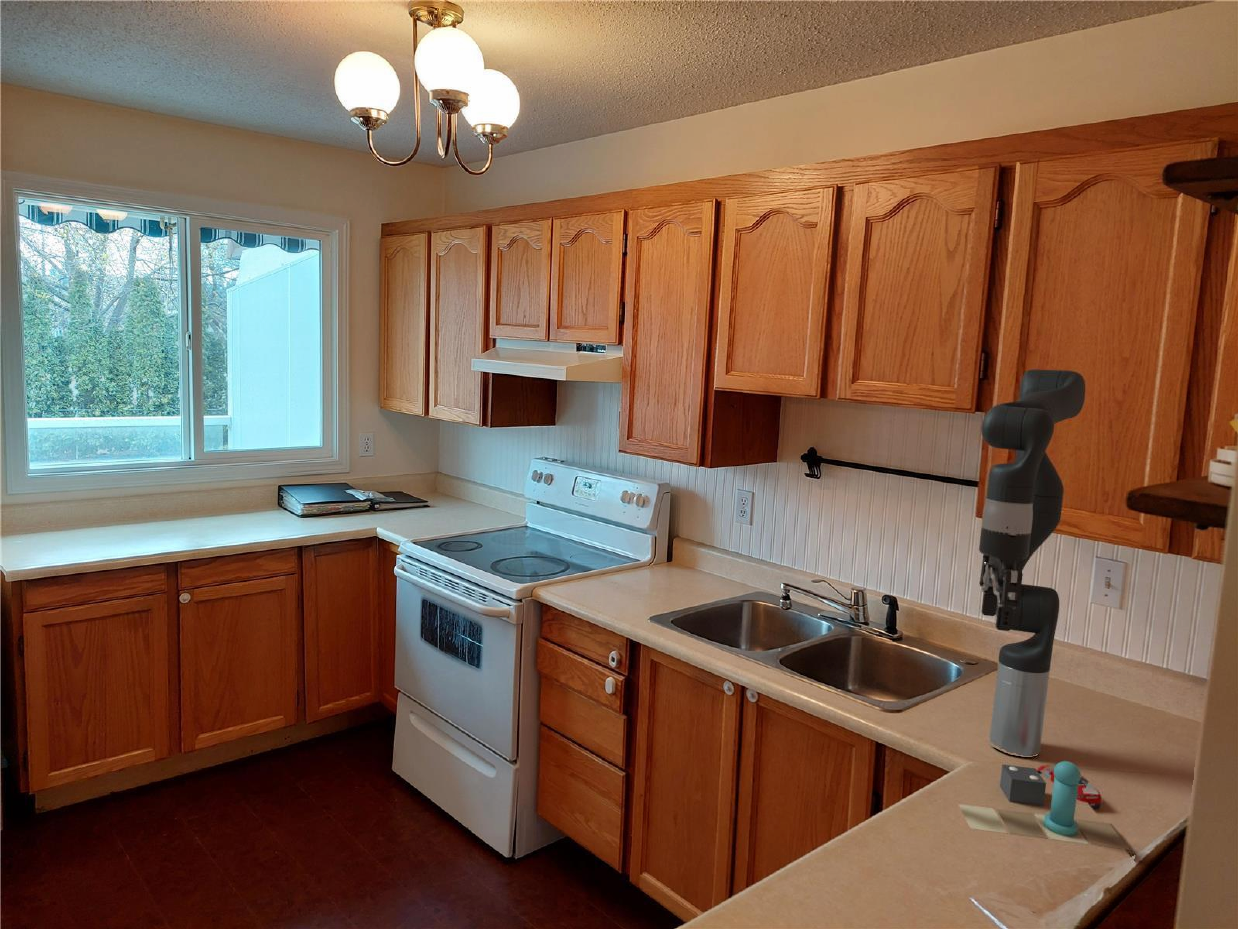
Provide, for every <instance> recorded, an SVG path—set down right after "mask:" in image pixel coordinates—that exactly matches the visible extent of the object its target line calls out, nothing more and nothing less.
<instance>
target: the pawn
mask: <svg viewBox="0 0 1238 929" xmlns="http://www.w3.org/2000/svg"><path fill="white" fill-rule="evenodd" d="M1054 766H1055V768H1054V776H1055V778H1054V783H1053V788H1052V793H1051V794H1052V795H1051V796H1052V797H1051V803H1050V811H1049V813H1046V814H1044V815H1045V818H1044V826H1045V827H1046V828H1047V829H1048V830H1050V831H1051V832H1053V833H1056V834H1059V835H1062V836H1075V835H1077V831H1078V830H1079V827H1078V824H1077V822H1076V821H1074V819H1075V814H1076V804H1077V791H1078V783H1079V781H1080V778H1081V771H1080V768H1079V767H1078V766H1077V765H1076V764H1075V763H1073V762H1071V761H1067V760H1063V761H1059V762H1058V763H1057V764H1056V765H1054Z"/></svg>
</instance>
